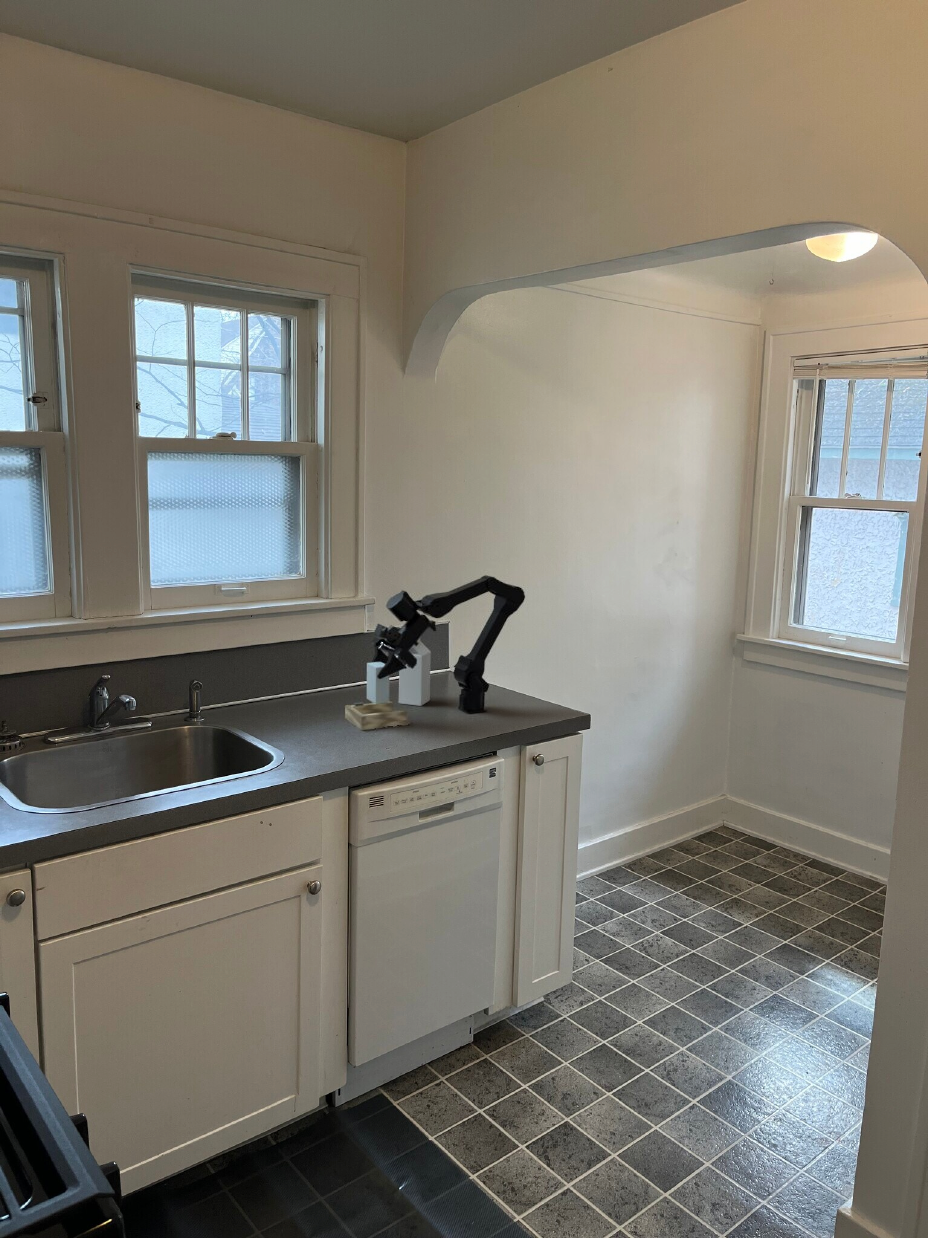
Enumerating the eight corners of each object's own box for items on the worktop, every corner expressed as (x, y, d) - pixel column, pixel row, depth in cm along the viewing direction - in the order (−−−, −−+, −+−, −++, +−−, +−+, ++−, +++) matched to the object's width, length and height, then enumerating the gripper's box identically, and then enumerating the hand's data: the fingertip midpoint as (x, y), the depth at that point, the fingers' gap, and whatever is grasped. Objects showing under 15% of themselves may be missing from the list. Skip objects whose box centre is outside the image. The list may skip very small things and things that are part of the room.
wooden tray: (391, 713, 263) (391, 698, 262) (409, 724, 252) (409, 709, 252) (345, 718, 256) (345, 703, 255) (361, 730, 246) (361, 714, 245)
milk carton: (429, 700, 277) (431, 638, 274) (420, 706, 271) (422, 642, 267) (407, 698, 280) (409, 636, 276) (398, 703, 273) (399, 640, 270)
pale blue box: (380, 697, 257) (380, 661, 255) (389, 702, 252) (389, 666, 250) (366, 698, 255) (366, 663, 253) (375, 703, 250) (375, 667, 248)
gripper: (378, 607, 259) (340, 649, 255) (407, 619, 243) (368, 664, 239) (403, 633, 264) (367, 675, 261) (433, 646, 248) (395, 690, 245)
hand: (373, 675), depth 251 cm, fingers closed on pale blue box, 6 cm apart
